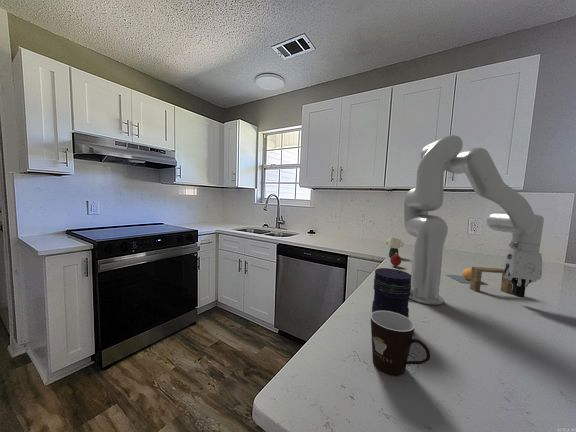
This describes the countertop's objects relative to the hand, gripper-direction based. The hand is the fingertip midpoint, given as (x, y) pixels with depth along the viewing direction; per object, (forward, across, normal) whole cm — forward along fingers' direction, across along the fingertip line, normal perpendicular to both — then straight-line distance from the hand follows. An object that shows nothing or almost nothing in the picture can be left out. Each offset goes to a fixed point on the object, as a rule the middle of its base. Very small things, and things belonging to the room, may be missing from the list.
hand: (517, 295), depth 87 cm
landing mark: (+3, +1, +28) cm, 28 cm away
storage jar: (+5, -55, -21) cm, 59 cm away
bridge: (+3, +1, +13) cm, 13 cm away
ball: (0, +2, +27) cm, 27 cm away
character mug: (+4, -17, +70) cm, 72 cm away
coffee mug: (+5, -62, -41) cm, 75 cm away
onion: (+4, -26, +45) cm, 52 cm away
